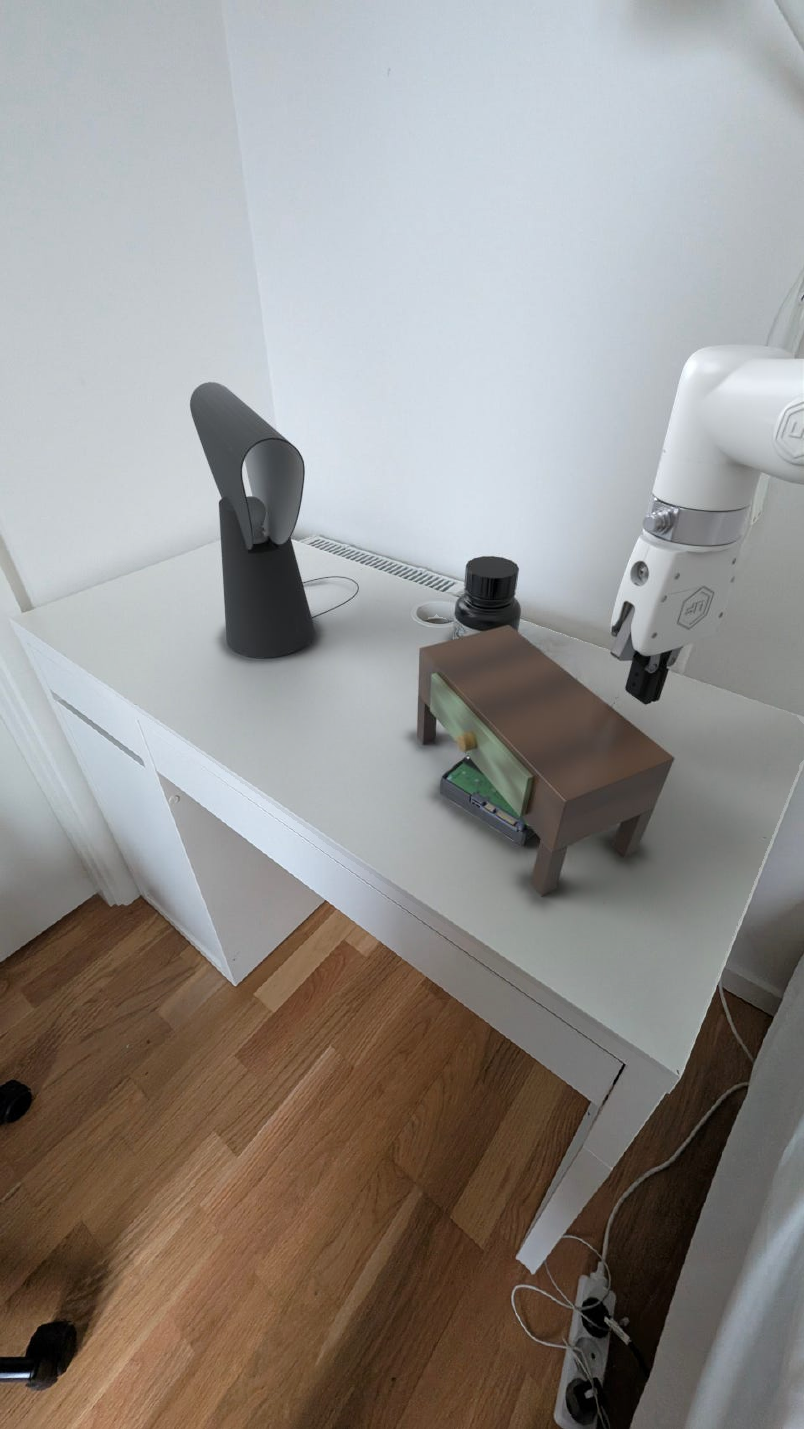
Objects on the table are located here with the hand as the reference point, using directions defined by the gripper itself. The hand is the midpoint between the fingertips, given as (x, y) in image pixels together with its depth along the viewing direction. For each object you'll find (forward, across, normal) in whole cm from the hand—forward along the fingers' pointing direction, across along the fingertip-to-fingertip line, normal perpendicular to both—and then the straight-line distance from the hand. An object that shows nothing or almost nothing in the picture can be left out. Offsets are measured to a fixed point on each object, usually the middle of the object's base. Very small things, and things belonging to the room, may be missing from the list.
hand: (641, 695), depth 60 cm
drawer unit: (+8, -14, +1) cm, 16 cm away
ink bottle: (+7, -2, +26) cm, 27 cm away
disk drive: (+8, -13, +1) cm, 15 cm away
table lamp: (+7, -26, +48) cm, 55 cm away
